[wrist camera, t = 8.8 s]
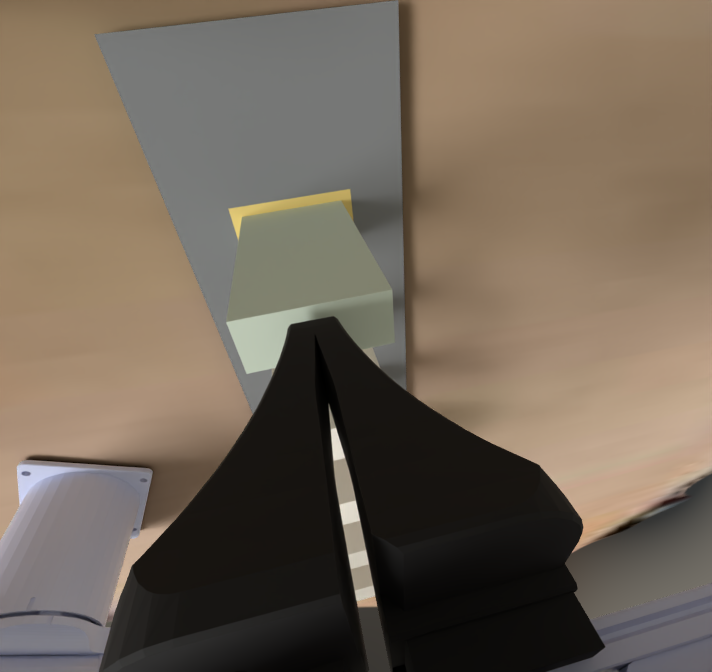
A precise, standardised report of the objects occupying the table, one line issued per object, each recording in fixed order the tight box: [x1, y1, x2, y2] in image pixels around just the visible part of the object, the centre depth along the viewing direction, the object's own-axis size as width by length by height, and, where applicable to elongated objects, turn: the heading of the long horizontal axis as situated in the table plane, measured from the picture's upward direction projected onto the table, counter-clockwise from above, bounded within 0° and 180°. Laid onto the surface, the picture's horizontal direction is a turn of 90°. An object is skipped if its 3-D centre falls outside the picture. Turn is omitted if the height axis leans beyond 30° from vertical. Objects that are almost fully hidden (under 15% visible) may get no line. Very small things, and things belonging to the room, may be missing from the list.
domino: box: [226, 200, 395, 374], centre depth 14 cm, size 2×5×9 cm, turn 96°
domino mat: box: [94, 0, 406, 414], centre depth 24 cm, size 34×11×1 cm, turn 6°
